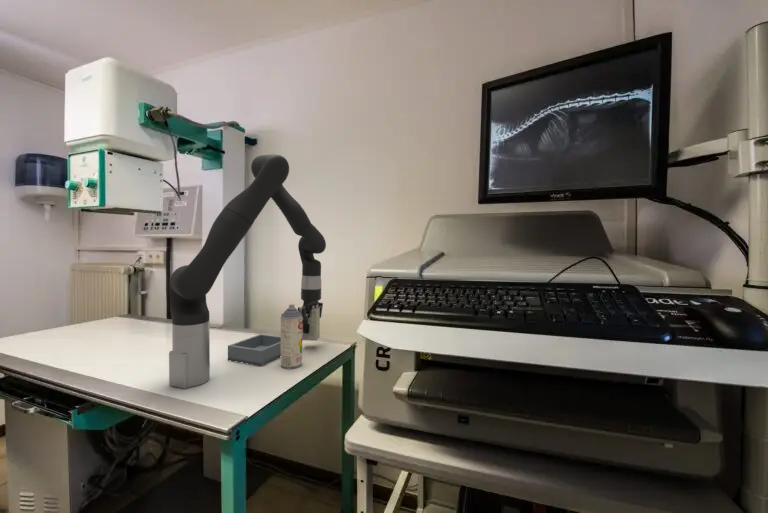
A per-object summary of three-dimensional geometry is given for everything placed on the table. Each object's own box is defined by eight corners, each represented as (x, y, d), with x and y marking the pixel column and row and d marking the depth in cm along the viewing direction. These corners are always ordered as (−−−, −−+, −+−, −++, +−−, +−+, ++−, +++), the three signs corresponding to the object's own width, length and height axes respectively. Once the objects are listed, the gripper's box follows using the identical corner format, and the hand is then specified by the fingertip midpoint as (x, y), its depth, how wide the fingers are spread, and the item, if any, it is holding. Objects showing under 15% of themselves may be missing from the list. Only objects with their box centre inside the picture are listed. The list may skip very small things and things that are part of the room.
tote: (261, 366, 109) (261, 351, 108) (227, 360, 114) (227, 345, 113) (291, 351, 124) (291, 338, 123) (260, 346, 129) (260, 333, 128)
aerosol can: (302, 368, 108) (302, 306, 107) (280, 369, 106) (280, 307, 105) (302, 360, 114) (302, 302, 113) (281, 362, 113) (281, 303, 112)
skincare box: (319, 338, 130) (320, 306, 130) (316, 341, 126) (317, 308, 125) (304, 337, 131) (304, 306, 131) (300, 340, 126) (300, 308, 126)
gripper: (309, 290, 120) (308, 337, 120) (329, 286, 133) (328, 328, 134) (291, 288, 122) (290, 334, 123) (313, 284, 136) (312, 326, 136)
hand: (310, 331), depth 128 cm, fingers closed on skincare box, 5 cm apart
